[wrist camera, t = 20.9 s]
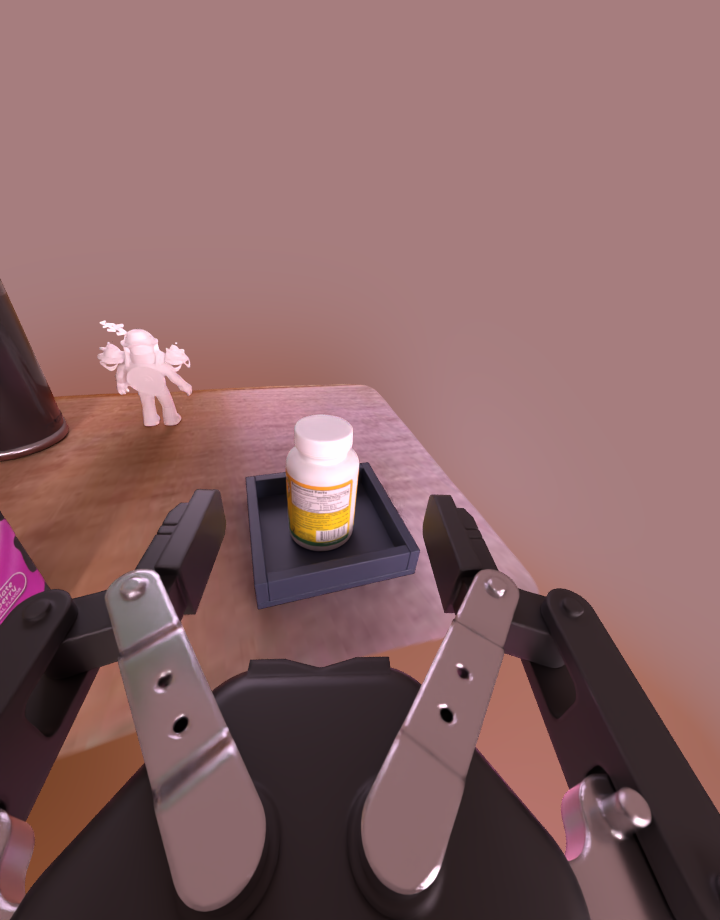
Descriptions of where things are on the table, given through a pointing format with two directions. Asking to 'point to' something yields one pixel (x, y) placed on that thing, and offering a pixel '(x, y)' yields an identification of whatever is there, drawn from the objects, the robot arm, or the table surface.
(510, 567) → the table surface
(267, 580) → the tray
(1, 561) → the candy bar box
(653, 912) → the robot arm
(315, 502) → the supplement bottle
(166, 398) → the hat wearing toy figure
